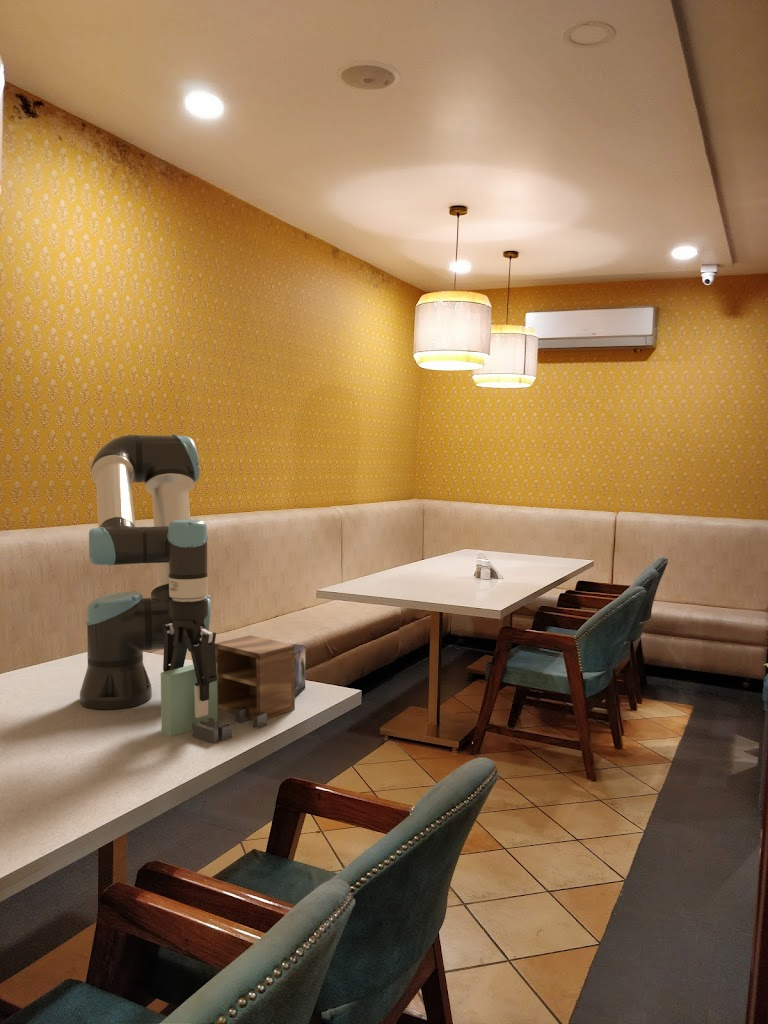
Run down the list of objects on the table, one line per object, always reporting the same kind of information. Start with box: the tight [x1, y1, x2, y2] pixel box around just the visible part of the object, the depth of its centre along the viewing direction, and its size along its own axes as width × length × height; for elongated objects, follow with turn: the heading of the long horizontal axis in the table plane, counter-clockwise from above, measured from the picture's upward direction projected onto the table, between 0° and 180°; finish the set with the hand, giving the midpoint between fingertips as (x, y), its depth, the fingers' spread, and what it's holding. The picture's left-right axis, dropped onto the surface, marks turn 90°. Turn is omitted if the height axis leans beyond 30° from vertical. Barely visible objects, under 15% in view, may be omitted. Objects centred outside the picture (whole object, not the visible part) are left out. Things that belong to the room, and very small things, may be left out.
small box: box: [292, 643, 307, 698], centre depth 184 cm, size 11×6×10 cm, turn 168°
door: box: [160, 663, 219, 737], centre depth 162 cm, size 3×12×12 cm, turn 142°
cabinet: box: [215, 634, 296, 720], centre depth 173 cm, size 14×10×14 cm
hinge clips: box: [191, 707, 268, 745], centre depth 160 cm, size 6×14×2 cm, turn 142°
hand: (190, 712), depth 162 cm, fingers open, 6 cm apart
